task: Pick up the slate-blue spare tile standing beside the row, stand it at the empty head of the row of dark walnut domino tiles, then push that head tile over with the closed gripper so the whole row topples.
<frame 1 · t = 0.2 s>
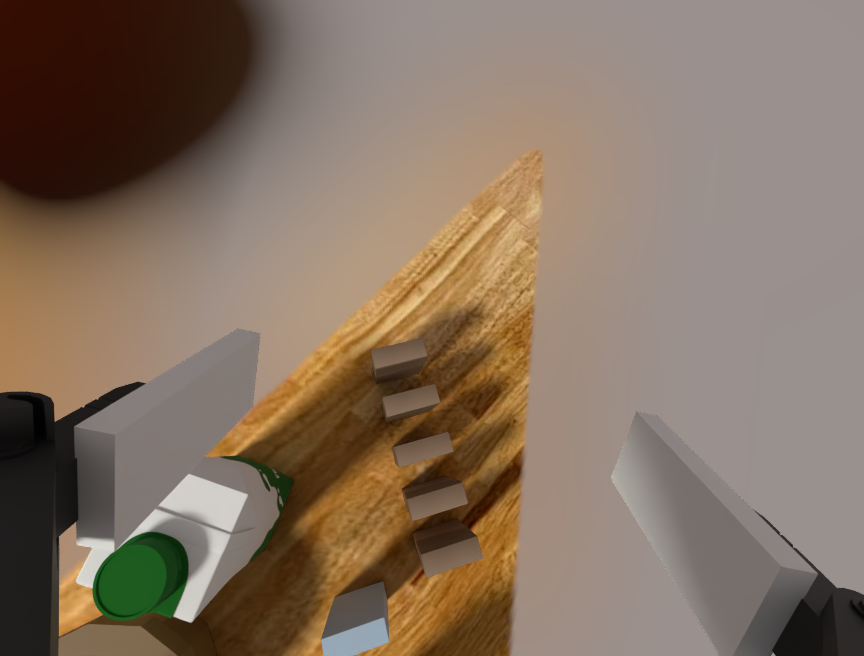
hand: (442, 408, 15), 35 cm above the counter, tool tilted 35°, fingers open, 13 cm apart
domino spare: (360, 598, 43), on the counter
domino e: (395, 371, 50), on the counter
domino c: (415, 449, 48), on the counter
milk carton: (249, 502, 45), on the counter
domino b: (426, 490, 47), on the counter
domino d: (405, 409, 49), on the counter
domino a: (437, 534, 46), on the counter
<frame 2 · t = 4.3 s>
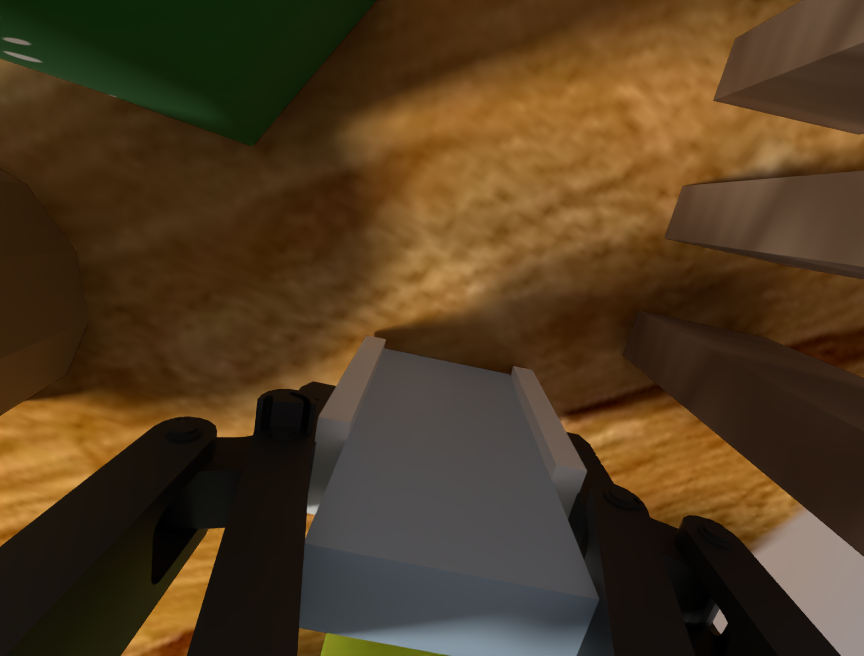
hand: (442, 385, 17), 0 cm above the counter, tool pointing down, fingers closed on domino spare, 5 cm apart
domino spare: (442, 382, 17), on the counter, touching gripper
soap dispenser: (392, 593, 20), on the counter
domino c: (798, 87, 14), on the counter
domino b: (741, 227, 15), on the counter
domino a: (693, 346, 16), on the counter
when the fingers open (1 cm above the counter, at t = 8.9 s): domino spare stays where it is, on the counter.
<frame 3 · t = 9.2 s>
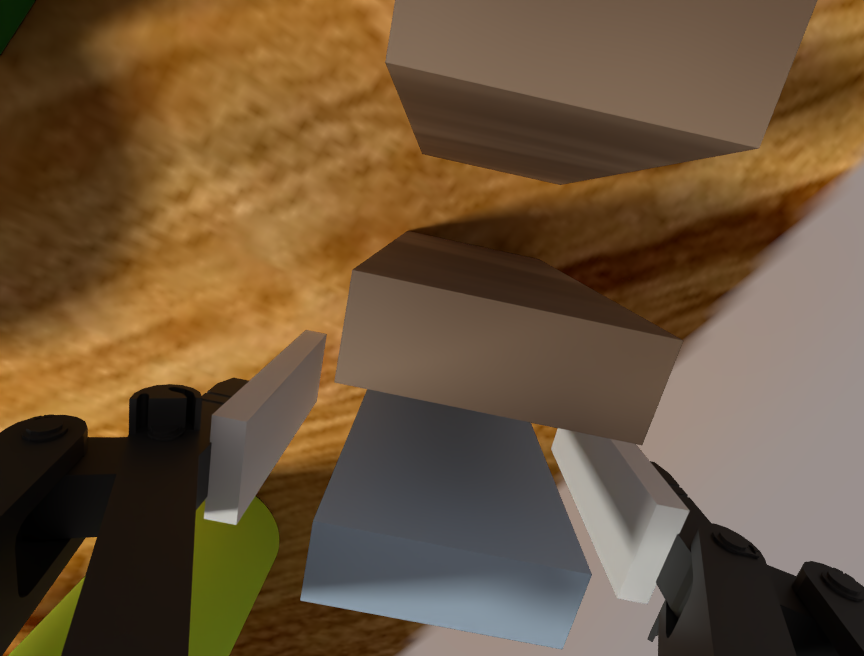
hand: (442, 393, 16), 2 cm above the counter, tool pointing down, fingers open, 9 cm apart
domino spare: (443, 376, 17), on the counter
soap dispenser: (208, 531, 20), on the counter
domino b: (497, 142, 15), on the counter
domino a: (468, 268, 16), on the counter
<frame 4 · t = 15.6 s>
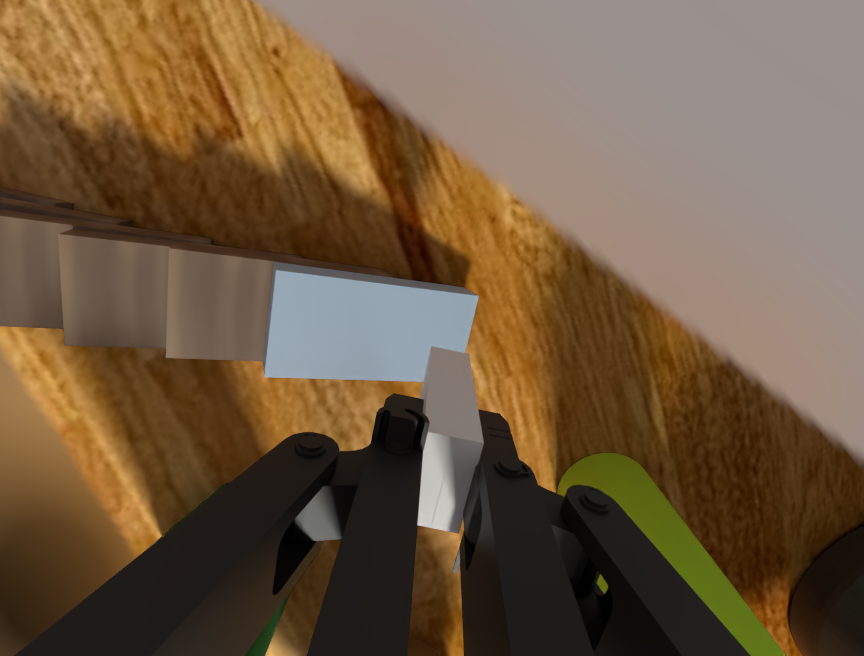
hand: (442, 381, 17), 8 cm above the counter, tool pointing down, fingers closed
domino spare: (460, 334, 24), point 1 cm above the counter, tilted 66°
domino e: (70, 249, 24), on the counter, tilted 90°, touching domino d
soap dispenser: (602, 497, 28), on the counter
domino c: (208, 285, 24), point 1 cm above the counter, tilted 63°, touching domino b, domino d
milk carton: (236, 542, 29), on the counter
domino b: (298, 303, 24), point 1 cm above the counter, tilted 66°, touching domino a, domino c
domino d: (122, 268, 23), point 1 cm above the counter, tilted 73°, touching domino c, domino e
domino a: (380, 317, 24), point 1 cm above the counter, tilted 66°, touching domino b
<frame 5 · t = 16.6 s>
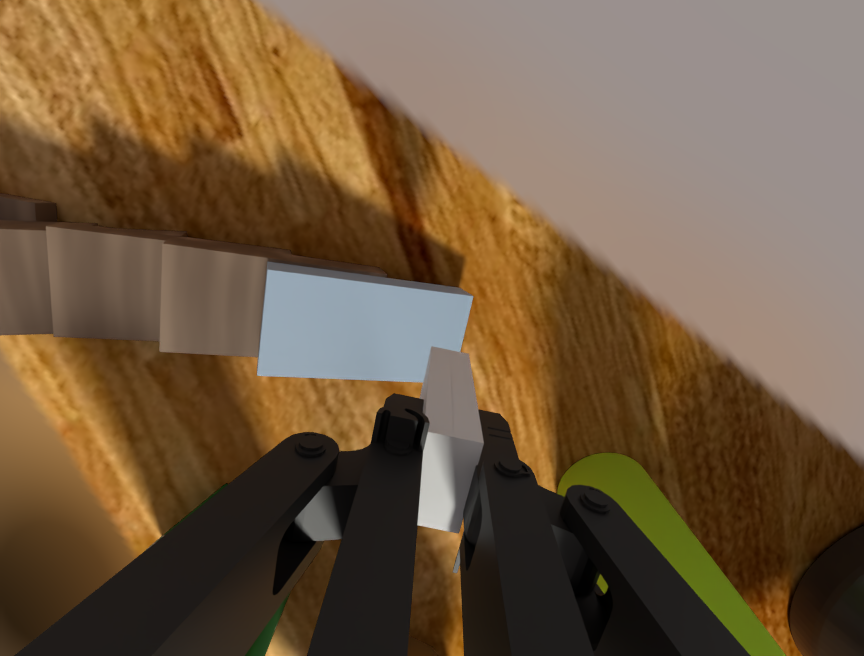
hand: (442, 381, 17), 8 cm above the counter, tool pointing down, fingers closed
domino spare: (456, 335, 24), point 1 cm above the counter, tilted 68°, touching domino a
domino e: (53, 249, 24), on the counter, tilted 90°, touching domino d
soap dispenser: (602, 497, 28), on the counter
domino c: (188, 280, 23), point 1 cm above the counter, tilted 68°, touching domino b, domino d
milk carton: (236, 542, 29), on the counter
domino b: (287, 298, 24), point 1 cm above the counter, tilted 68°, touching domino a, domino c
domino a: (375, 315, 24), point 1 cm above the counter, tilted 68°, touching domino b, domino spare
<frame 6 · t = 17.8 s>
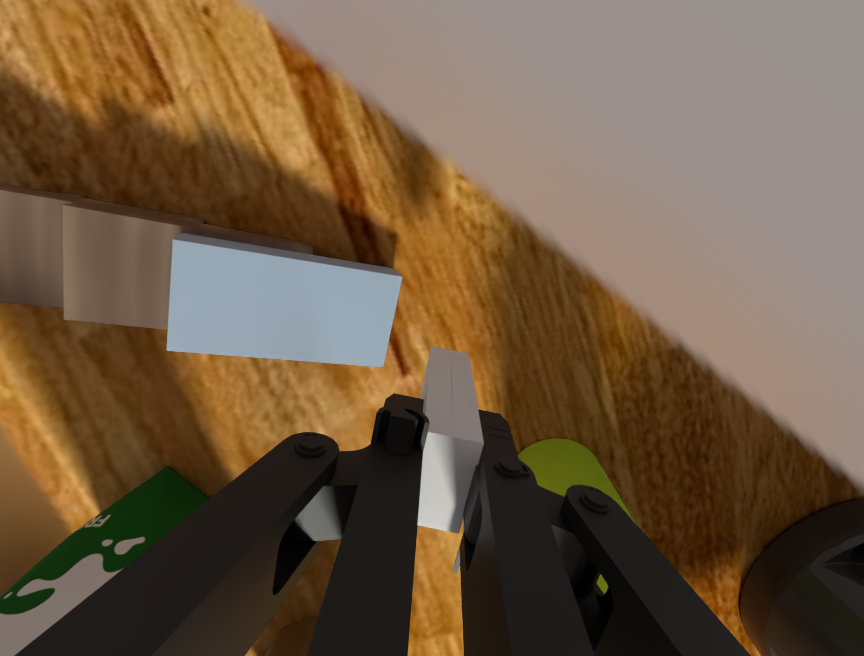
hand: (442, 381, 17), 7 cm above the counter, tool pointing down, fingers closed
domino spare: (388, 317, 23), point 1 cm above the counter, tilted 70°, touching domino a
soap dispenser: (553, 484, 27), on the counter
milk carton: (180, 526, 29), on the counter
domino b: (200, 268, 23), point 1 cm above the counter, tilted 68°, touching domino a
domino a: (304, 292, 23), point 1 cm above the counter, tilted 70°, touching domino b, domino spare
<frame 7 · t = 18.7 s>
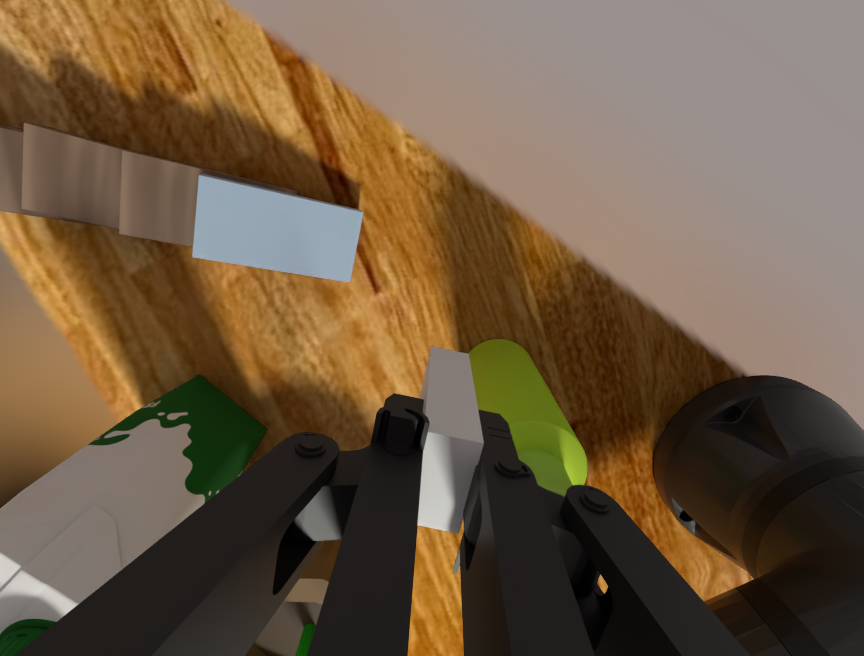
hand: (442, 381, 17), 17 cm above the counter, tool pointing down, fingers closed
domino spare: (354, 245, 31), point 1 cm above the counter, tilted 70°, touching domino a
soap dispenser: (497, 378, 35), on the counter
domino c: (111, 189, 30), point 1 cm above the counter, tilted 57°, touching domino b, domino d
milk carton: (210, 426, 37), on the counter
domino b: (210, 210, 30), point 1 cm above the counter, tilted 69°, touching domino c
domino a: (291, 226, 31), point 1 cm above the counter, tilted 70°, touching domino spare
flowerpot: (335, 541, 40), on the counter
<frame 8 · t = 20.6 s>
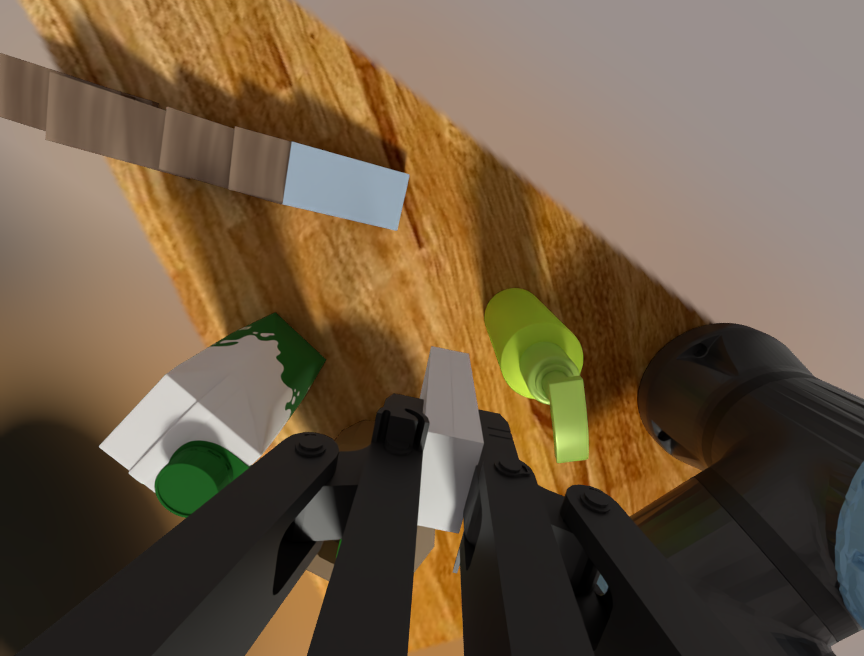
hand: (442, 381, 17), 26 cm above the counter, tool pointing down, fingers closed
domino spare: (401, 202, 39), point 1 cm above the counter, tilted 72°, touching domino a
soap dispenser: (513, 321, 44), on the counter
domino c: (194, 150, 39), point 1 cm above the counter, tilted 62°, touching domino b, domino d
milk carton: (280, 356, 45), on the counter
domino b: (287, 176, 39), point 1 cm above the counter, tilted 75°, touching domino a, domino c
domino d: (125, 125, 38), point 2 cm above the counter, tilted 90°, touching domino c, domino e
domino a: (351, 188, 40), point 1 cm above the counter, tilted 72°, touching domino b, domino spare
flowerpot: (375, 459, 49), on the counter
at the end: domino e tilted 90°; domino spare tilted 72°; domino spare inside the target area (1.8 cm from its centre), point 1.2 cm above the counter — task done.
